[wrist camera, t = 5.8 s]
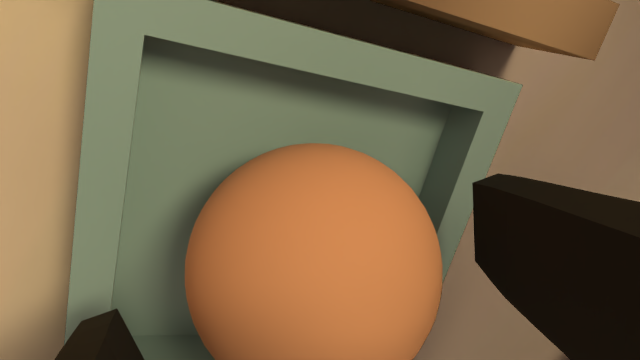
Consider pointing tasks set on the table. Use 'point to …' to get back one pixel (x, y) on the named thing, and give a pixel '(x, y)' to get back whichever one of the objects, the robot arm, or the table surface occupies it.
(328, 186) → the ball
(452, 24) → the rail
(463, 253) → the table surface
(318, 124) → the tray
